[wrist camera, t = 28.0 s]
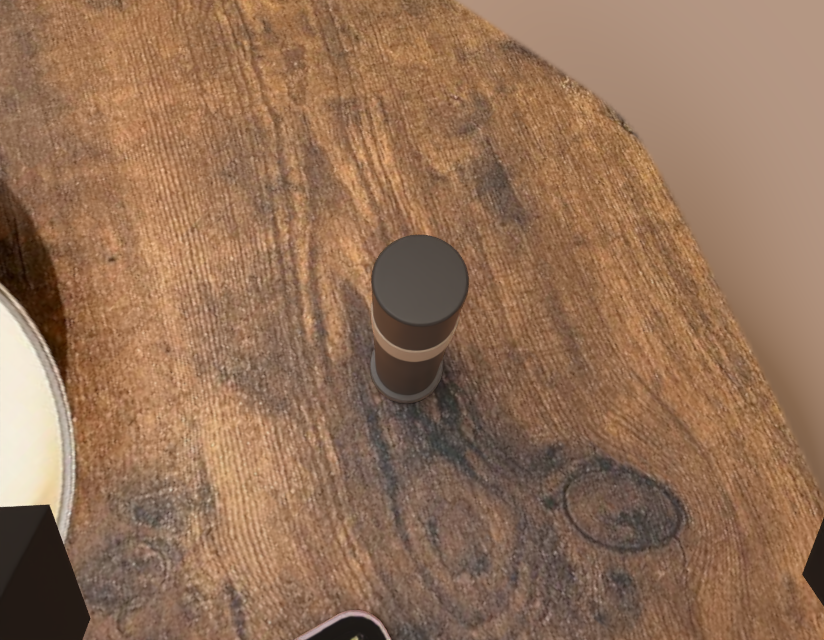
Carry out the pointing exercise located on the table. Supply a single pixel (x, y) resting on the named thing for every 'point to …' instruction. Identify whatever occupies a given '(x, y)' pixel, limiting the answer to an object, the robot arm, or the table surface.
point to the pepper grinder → (414, 314)
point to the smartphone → (349, 628)
